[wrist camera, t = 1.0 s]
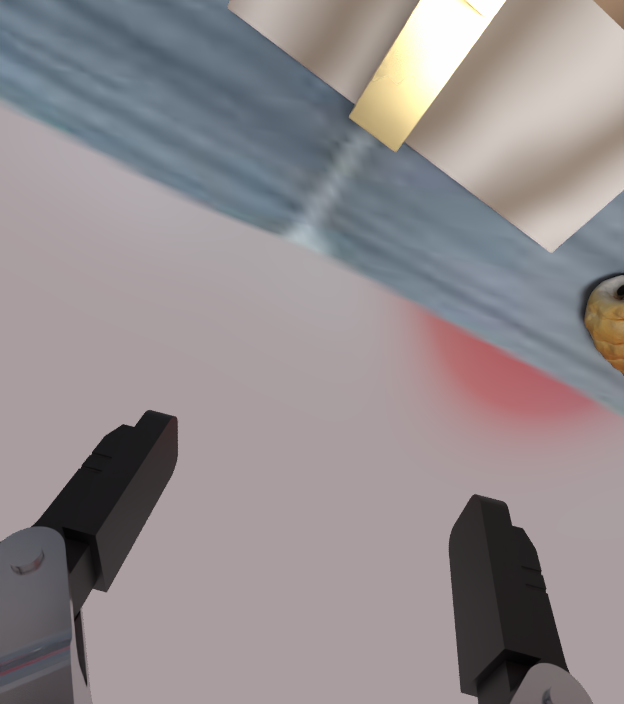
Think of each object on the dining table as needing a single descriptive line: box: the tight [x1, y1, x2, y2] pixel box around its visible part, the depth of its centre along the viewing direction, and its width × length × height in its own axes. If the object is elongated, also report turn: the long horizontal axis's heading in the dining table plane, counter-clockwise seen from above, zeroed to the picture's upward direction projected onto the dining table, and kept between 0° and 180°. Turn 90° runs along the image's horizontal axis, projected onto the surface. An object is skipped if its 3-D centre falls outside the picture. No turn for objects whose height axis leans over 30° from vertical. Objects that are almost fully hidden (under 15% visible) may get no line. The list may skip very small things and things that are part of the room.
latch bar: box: [349, 0, 505, 152], centre depth 19 cm, size 11×4×4 cm, turn 148°
